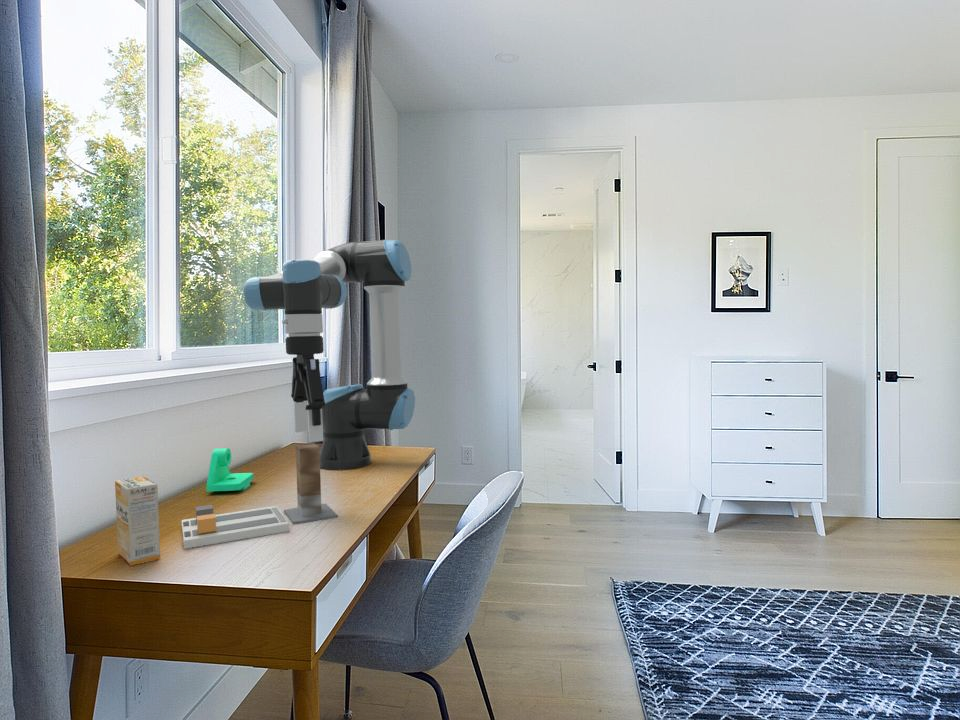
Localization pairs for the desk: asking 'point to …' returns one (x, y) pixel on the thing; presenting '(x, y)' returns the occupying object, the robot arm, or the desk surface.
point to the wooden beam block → (308, 479)
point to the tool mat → (297, 518)
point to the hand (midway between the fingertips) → (308, 436)
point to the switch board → (236, 527)
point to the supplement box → (137, 520)
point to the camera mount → (225, 473)
